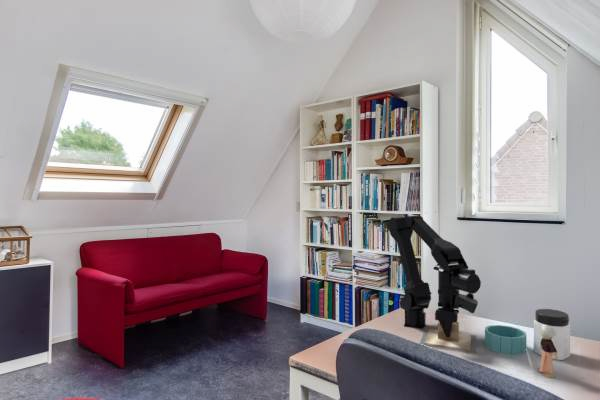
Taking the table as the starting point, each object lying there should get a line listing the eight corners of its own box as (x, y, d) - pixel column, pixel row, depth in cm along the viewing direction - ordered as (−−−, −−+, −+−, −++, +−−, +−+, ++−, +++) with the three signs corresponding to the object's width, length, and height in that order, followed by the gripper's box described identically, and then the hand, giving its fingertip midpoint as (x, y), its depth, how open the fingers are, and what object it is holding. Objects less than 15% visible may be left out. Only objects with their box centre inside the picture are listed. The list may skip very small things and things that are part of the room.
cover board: (424, 344, 123) (424, 326, 123) (429, 330, 135) (429, 314, 135) (470, 351, 118) (470, 332, 118) (471, 336, 130) (471, 318, 129)
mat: (418, 347, 122) (418, 345, 122) (425, 330, 137) (425, 328, 137) (475, 355, 116) (475, 353, 116) (476, 336, 130) (476, 335, 130)
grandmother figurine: (530, 368, 107) (530, 321, 107) (544, 367, 107) (544, 320, 107) (551, 382, 99) (551, 331, 99) (565, 381, 100) (565, 330, 99)
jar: (559, 363, 110) (559, 319, 110) (529, 353, 117) (529, 312, 116) (574, 355, 115) (574, 313, 114) (544, 346, 122) (544, 306, 121)
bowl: (485, 352, 118) (485, 335, 118) (484, 338, 128) (484, 323, 128) (527, 357, 113) (527, 340, 113) (524, 343, 123) (524, 327, 123)
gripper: (475, 295, 114) (475, 350, 114) (476, 281, 131) (476, 328, 131) (434, 292, 119) (435, 344, 119) (440, 279, 136) (440, 324, 136)
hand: (448, 335), depth 126 cm, fingers closed on cover board, 3 cm apart
